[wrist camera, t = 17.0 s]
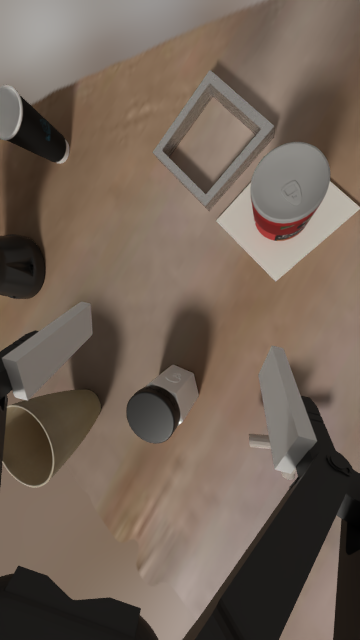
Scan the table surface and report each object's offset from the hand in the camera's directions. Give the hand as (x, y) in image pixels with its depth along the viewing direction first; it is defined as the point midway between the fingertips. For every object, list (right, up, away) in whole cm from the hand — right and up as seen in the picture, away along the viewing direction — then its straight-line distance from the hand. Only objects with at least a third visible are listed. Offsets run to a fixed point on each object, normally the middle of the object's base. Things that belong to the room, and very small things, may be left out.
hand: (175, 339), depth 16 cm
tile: (+16, +17, +18) cm, 30 cm away
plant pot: (-21, -18, +37) cm, 47 cm away
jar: (0, -12, +28) cm, 30 cm away
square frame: (+5, +29, +20) cm, 36 cm away
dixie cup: (-25, +37, +31) cm, 54 cm away
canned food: (+16, +17, +18) cm, 29 cm away
